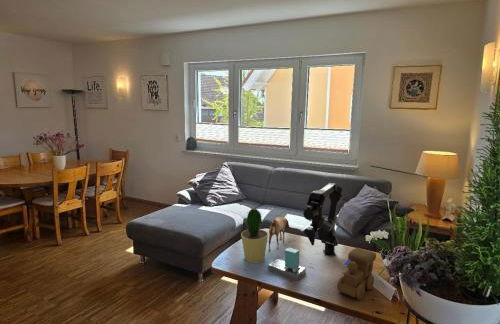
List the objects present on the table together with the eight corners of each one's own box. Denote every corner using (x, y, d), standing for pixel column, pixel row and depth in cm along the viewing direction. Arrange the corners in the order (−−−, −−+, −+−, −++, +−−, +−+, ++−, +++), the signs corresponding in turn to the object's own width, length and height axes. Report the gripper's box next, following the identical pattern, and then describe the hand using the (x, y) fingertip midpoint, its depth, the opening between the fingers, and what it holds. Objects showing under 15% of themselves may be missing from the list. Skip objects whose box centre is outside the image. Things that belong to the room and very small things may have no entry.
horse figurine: (274, 256, 183) (274, 222, 180) (262, 253, 187) (262, 220, 183) (293, 237, 210) (293, 207, 207) (282, 235, 214) (282, 206, 211)
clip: (289, 270, 167) (289, 247, 165) (298, 273, 164) (299, 250, 161) (285, 273, 164) (285, 250, 162) (295, 277, 160) (295, 253, 158)
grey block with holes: (277, 263, 175) (277, 258, 174) (305, 273, 164) (305, 267, 164) (268, 270, 168) (268, 264, 167) (297, 280, 157) (297, 275, 157)
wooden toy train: (354, 277, 160) (355, 246, 157) (376, 285, 152) (378, 253, 149) (334, 294, 145) (335, 260, 143) (358, 304, 138) (360, 268, 135)
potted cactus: (257, 267, 171) (257, 214, 166) (236, 259, 180) (234, 209, 175) (273, 256, 183) (273, 207, 178) (252, 249, 192) (251, 202, 187)
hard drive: (350, 255, 181) (343, 263, 171) (365, 258, 177) (358, 268, 167) (350, 257, 182) (343, 266, 172) (364, 261, 177) (358, 270, 167)
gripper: (323, 222, 156) (322, 252, 159) (338, 213, 171) (337, 240, 173) (303, 218, 163) (303, 246, 165) (319, 209, 177) (319, 235, 180)
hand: (316, 242), depth 171 cm, fingers open, 9 cm apart
